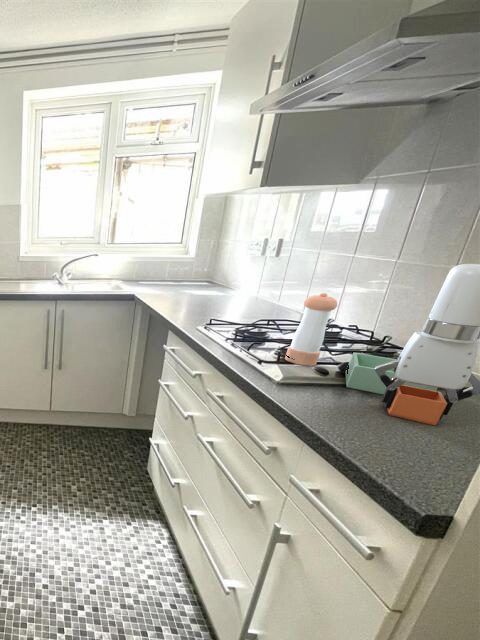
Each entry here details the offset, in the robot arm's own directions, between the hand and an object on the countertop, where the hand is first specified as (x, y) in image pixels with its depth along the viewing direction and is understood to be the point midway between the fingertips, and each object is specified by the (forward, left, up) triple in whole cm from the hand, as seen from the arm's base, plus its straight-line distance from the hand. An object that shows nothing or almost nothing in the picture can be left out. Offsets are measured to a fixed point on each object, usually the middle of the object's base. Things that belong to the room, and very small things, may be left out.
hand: (411, 410), depth 88 cm
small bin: (0, 0, -1) cm, 1 cm away
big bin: (+3, -16, -1) cm, 16 cm away
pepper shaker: (+20, -25, -1) cm, 32 cm away
